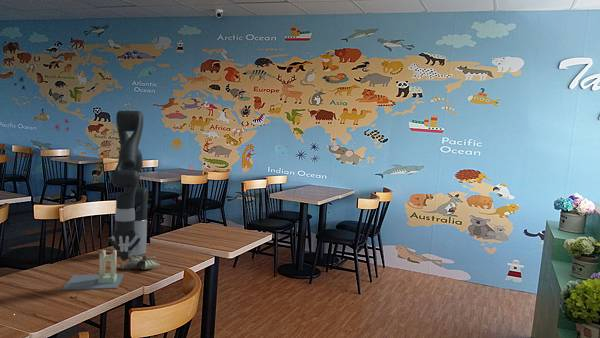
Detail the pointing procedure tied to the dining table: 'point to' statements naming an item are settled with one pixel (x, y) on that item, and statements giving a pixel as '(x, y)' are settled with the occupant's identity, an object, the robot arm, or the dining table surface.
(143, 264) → the figurine
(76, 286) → the mat
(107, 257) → the stool
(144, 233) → the robot arm
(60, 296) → the dining table surface
